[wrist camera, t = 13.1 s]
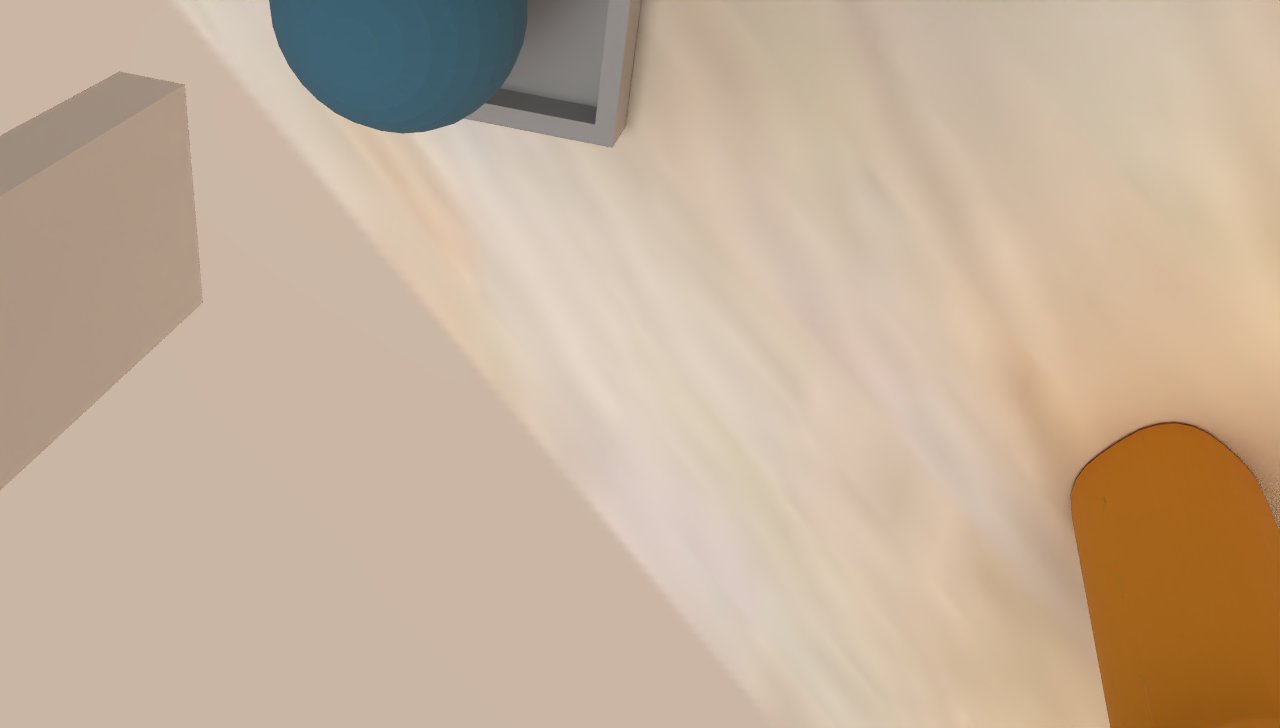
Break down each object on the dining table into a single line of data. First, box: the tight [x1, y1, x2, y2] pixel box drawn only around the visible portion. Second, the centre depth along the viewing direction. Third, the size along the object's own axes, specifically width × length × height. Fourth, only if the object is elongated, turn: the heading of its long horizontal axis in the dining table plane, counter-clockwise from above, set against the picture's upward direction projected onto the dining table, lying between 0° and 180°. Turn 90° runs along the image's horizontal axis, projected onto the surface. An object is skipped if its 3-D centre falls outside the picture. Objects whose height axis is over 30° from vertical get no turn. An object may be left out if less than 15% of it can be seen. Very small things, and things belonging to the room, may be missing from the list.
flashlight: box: [1071, 423, 1280, 728], centre depth 42 cm, size 10×26×10 cm
